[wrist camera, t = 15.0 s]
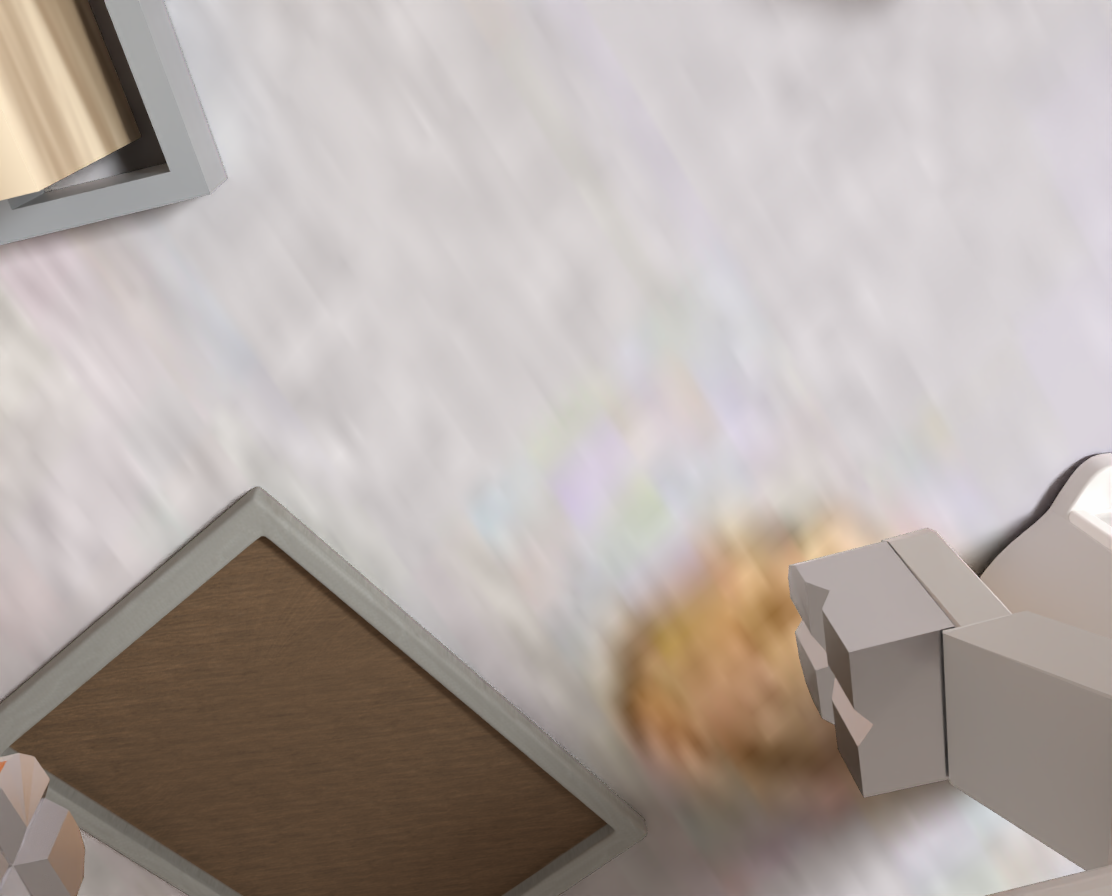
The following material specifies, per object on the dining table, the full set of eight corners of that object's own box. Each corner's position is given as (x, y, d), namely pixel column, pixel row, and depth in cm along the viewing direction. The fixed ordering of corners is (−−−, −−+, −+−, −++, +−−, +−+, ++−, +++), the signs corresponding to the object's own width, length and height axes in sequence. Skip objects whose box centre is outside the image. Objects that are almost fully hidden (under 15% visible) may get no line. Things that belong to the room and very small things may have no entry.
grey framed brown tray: (253, 496, 40) (679, 861, 52) (259, 478, 41) (673, 837, 53) (-48, 751, 44) (413, 1037, 56) (-32, 726, 45) (414, 1010, 57)
